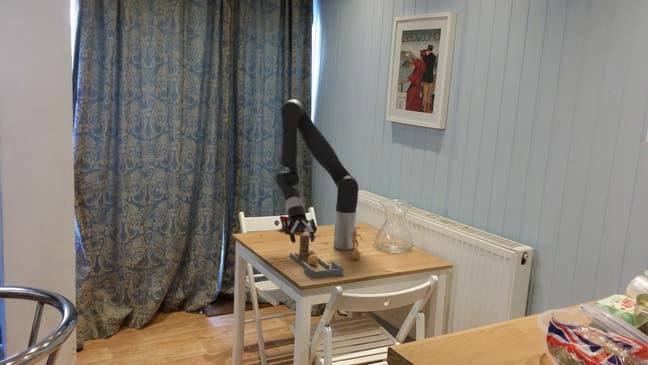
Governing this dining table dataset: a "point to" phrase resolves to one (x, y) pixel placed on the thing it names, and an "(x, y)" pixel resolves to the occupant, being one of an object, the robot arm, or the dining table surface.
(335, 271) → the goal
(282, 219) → the red slanted panel
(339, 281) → the dining table surface
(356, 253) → the figurine
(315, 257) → the ball
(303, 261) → the rails
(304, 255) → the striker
